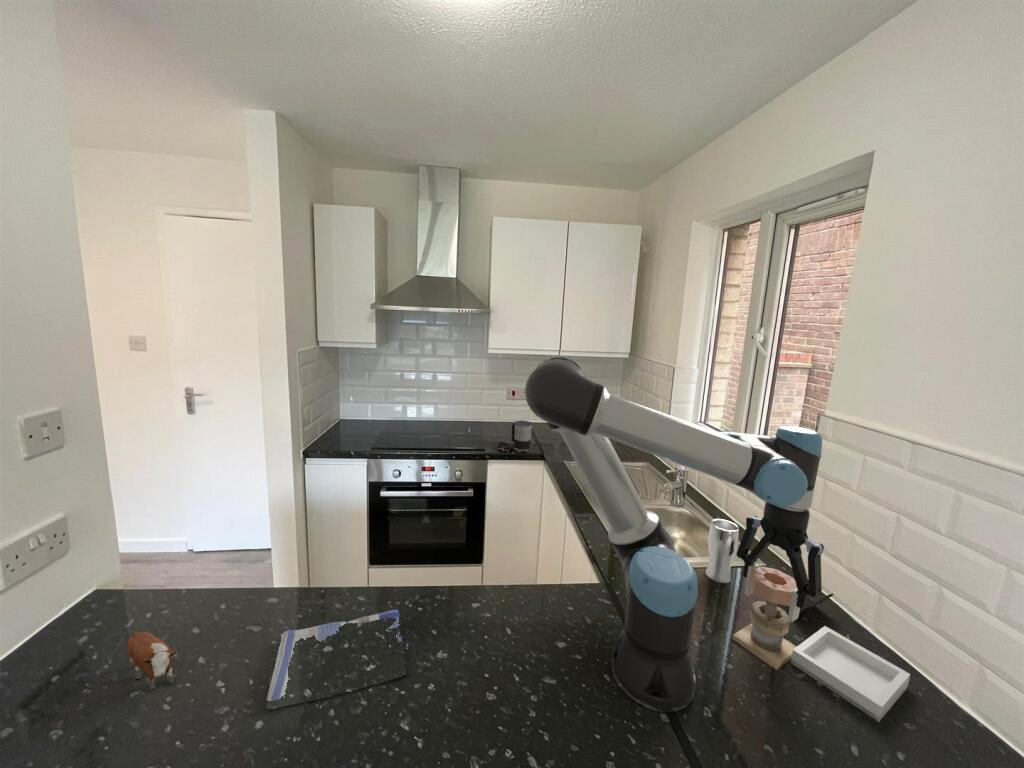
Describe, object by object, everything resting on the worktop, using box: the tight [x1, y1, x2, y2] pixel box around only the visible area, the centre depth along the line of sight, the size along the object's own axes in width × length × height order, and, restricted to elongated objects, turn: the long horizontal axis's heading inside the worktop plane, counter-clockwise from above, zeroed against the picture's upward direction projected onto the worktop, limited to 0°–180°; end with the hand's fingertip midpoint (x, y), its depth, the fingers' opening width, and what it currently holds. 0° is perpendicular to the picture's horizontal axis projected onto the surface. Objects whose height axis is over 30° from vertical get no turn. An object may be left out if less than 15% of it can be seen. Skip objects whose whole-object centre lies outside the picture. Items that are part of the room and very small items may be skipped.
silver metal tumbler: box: [705, 518, 740, 584], centre depth 109 cm, size 7×7×15 cm
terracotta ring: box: [749, 565, 797, 606], centre depth 84 cm, size 8×8×3 cm
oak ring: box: [749, 600, 791, 637], centre depth 85 cm, size 6×6×3 cm
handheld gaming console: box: [777, 593, 834, 615], centre depth 98 cm, size 12×7×10 cm
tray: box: [790, 625, 911, 723], centre depth 80 cm, size 14×14×3 cm
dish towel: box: [266, 609, 402, 701], centre depth 78 cm, size 17×24×3 cm
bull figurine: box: [126, 631, 179, 683], centre depth 71 cm, size 4×13×8 cm, turn 58°
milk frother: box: [497, 420, 533, 449], centre depth 208 cm, size 14×16×15 cm
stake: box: [732, 599, 798, 670], centre depth 85 cm, size 9×9×14 cm
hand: (770, 605), depth 85 cm, fingers closed on terracotta ring, 8 cm apart
